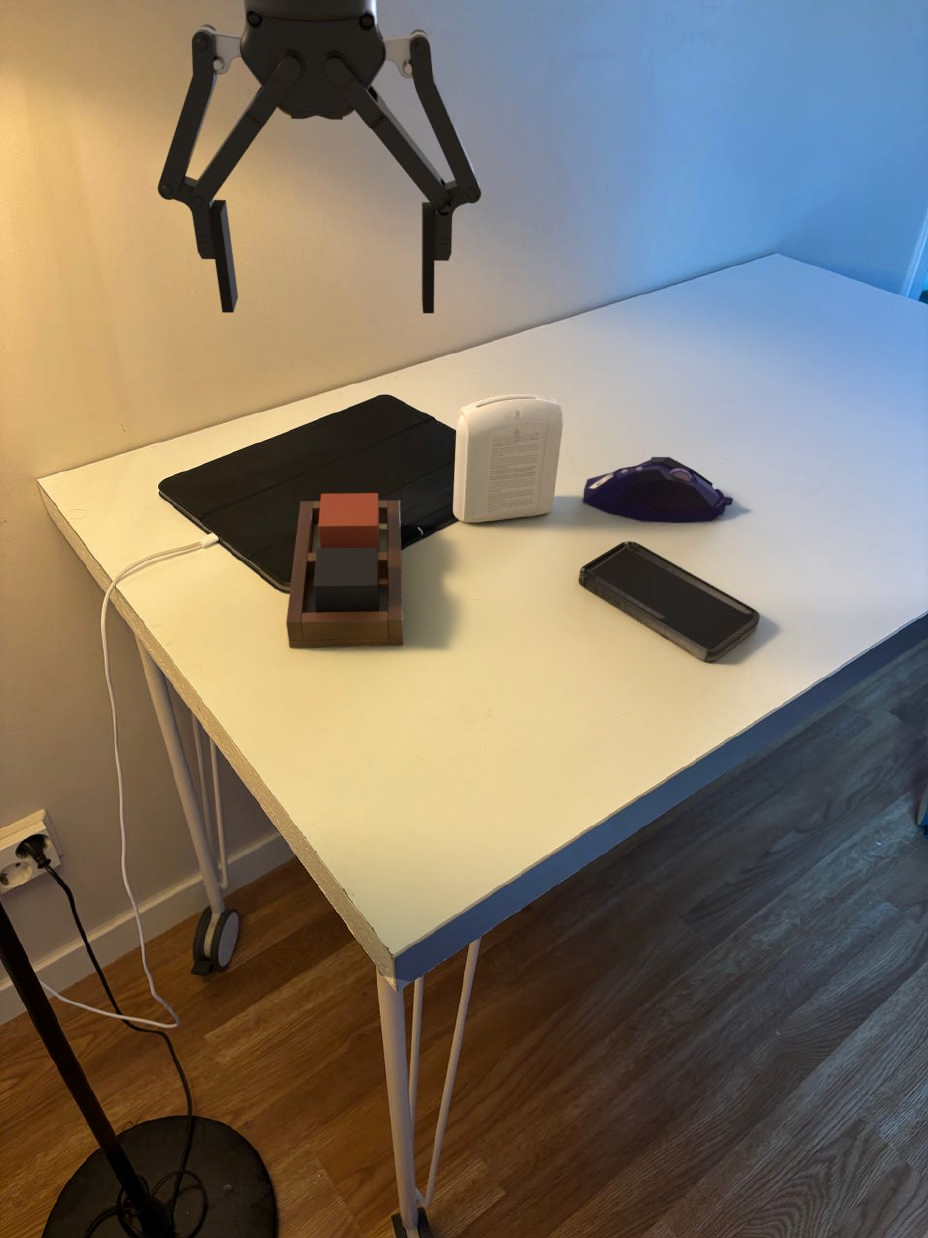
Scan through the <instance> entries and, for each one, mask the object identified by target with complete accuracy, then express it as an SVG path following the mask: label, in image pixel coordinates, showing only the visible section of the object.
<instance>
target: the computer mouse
mask: <svg viewBox="0 0 928 1238" xmlns="http://www.w3.org/2000/svg"><path fill="white" fill-rule="evenodd" d="M713 485H714V483H713V482H711V481H710V480H708V478H706V477H704V476H703V475H702V474H700V473H699V472H698V471H696V470H695V469H694V468H693V469H692V468H691V467H689V466H687V465H685V464H683V463H681V462H680V461H678V460H676V459H674V458H673V457H670V456H651V458H650V459H648V460H646V461H643V462H641V463H639V464H636V465H633V466H627V467H621V468H618V469H616V470H614V471H611V472H608V473H604V474H601V475H598V476H594V477H591V478H587V479H586V483H585V485H584V489H583V497H582V503H584V504H586V505H589V506H590V507H592V508H595V509H598V510H600V511H602V512H605V513H607V514H611V515H615V516H619V517H623V518H628V519H632V520H635V521H640V522H650V523H651V522H653V523H654V522H655V523H674V524H675V523H677V524H678V523H694V522H710V521H711V522H712V521H713V520H716V519H717V518H719V517H723V515H724V513H725V511H726V507H727V506H733V505H732V504H733V501H734V498H733V497H731V496H725V494H724V493H723V492H722V490H720V489H719V488H714V487H713Z"/></svg>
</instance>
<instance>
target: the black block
mask: <svg viewBox="0 0 928 1238" xmlns="http://www.w3.org/2000/svg"><path fill="white" fill-rule="evenodd" d="M313 587H314V598H315V609H316V613H322V612H378V611H379V565H378V548H317V552H316V563H315V574H314V585H313Z"/></svg>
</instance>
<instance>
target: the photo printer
mask: <svg viewBox="0 0 928 1238" xmlns="http://www.w3.org/2000/svg"><path fill="white" fill-rule="evenodd" d="M563 421H564V419H563V411H562V406H561V404H560V403H558V401H557V399H555V398H552V397H549V396H545V395H539V394H530V393H529V394H528V393H527V394H526V393H524V394H523V393H517V394H515V393H513V394H504V395H497V396H492V397H488V398H484V399H481V400H477V401H474V402H472V403H469V404H468V405H465V406H463V407H461V408H460V409H459V411H458V414H457V424H456V428H455V429H456V432H455V455H454V456H455V457H454V473H453V474H454V477H453V478H454V479H453V498H452V499H453V500H452V513H453V515H454V517H455V518H456V519H457V520H459V522H462V523H482V522H492V521H500V520H501V521H502V520H507V519H508V520H509V519H517V518H525V517H533V516H538V515H540V516H541V515H545V514H550V513H551V512H552V511H553V507H554V501H555V500H554V499H555V492H556V484H557V475H558V468H559V458H560V451H561V443H562V434H563V425H564V423H563Z"/></svg>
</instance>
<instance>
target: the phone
mask: <svg viewBox="0 0 928 1238" xmlns="http://www.w3.org/2000/svg"><path fill="white" fill-rule="evenodd" d="M578 583H579V585H580V586H581V587H582V588H584V589H586V590H587V591H589V592H590V593H592V594H593V595H595V596H596V597H599V598H600V599H601V600H604V601H605V602H606V603H608V604H610V605H612V606H613V607H614V608H617V609H618V610H619V611H621V612H622V613H624V614H626V615H627V616H629V617H631V618H632V619H634V620H636V621H637V622H638V623H640V624H642V625H644V626H645V627H647V628H648V629H649V630H651V631H653V632H655V633H656V634H658V635H659V636H661V637H662V638H664V639H666V640H668V641H669V642H671V643H672V644H674V645H676V646H678V647H679V648H680V649H682V650H684V651H685V652H686V653H689V654H690V655H692V656H693V657H695V658H696V659H698V660H700V661H702V662H708V663H711V662H715V661H718V660H720V659H721V658H722V657H723V656H724V655H726V654H727V653H729V652H730V651H731V650H732V649H734V648H735V647H736V646H737V645H738V644H740V643H741V642H742V641H744V640H746V639H747V637H749V636H750V635H752V634H753V633H754V632H755V631H756V630H757V629H758V625H759V622H760V618H761V615H760V613H759V612H758V610H756V609H755V608H753V607H751V606H749V604H746V603H744V602H743V601H741V600H739V599H737V598H736V597H734V596H732V595H730V594H728V593H727V592H725V591H723V590H721V589H720V588H718V587H716V586H714V585H713V584H711V583H709V582H707V581H705V580H704V579H702V578H700V577H698V576H697V575H695V574H693V573H692V572H690V571H688V570H687V569H685V568H682V566H681V567H680V566H679V565H677V564H675V563H674V562H672V561H670V560H668V559H667V558H665V557H663V556H661V555H660V554H658V553H656V552H654V551H653V550H651V549H649V548H647V547H645V546H643V545H642V544H640V543H638V542H636V541H631V540H629V541H628V540H627V541H622V542H620V543H618V544H617V545H616V546H614V547H612V548H611V549H609V550H607V551H606V552H604V553H602V554H601V555H599V556H597V557H596V558H594V559H592V560H591V561H589V562H588V563H585V564H583V566H582V567H580V568H579V575H578Z"/></svg>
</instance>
